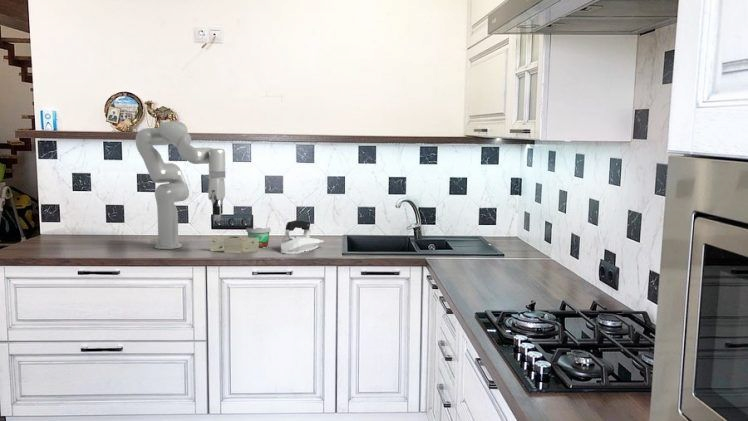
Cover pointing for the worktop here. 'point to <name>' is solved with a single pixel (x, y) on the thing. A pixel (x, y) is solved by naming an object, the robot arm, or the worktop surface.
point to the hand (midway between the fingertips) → (217, 213)
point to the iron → (298, 239)
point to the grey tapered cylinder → (218, 217)
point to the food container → (259, 235)
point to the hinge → (234, 244)
